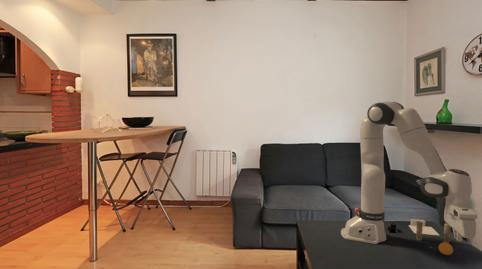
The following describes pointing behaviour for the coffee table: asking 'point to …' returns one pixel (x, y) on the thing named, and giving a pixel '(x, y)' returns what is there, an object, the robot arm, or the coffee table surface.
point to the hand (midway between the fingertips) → (458, 240)
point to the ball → (445, 248)
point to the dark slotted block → (391, 227)
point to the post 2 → (447, 233)
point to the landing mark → (424, 230)
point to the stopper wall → (414, 222)
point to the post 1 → (419, 231)
